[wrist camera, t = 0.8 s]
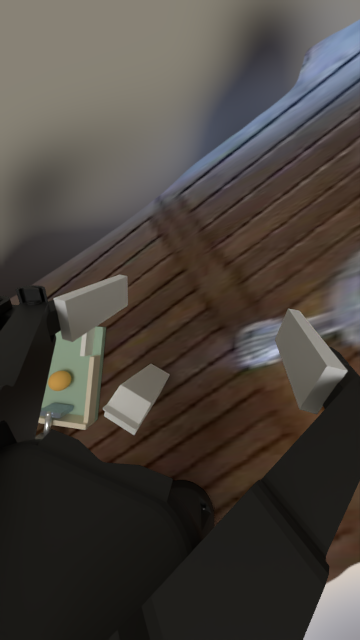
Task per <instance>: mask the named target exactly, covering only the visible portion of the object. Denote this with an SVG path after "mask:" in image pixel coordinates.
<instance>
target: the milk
mask: <svg viewBox="0 0 360 640" xmlns="http://www.w3.org/2000/svg"><path fill="white" fill-rule="evenodd" d="M169 376H170V374H168V373H166V372H165V371H163V370H161V369H160V368H158V367H156V366H154V365H153V364H149V365H148V366H147V367H145V368H144V369H142V370H141V371H140V372H138V373H137V374H135V375H134V376H132V377H131V378H130V379H128V380H127V381H125V382H124V383H122V384H121V385H120V386H119V388H118V389H117V391H116V392H115V394H114V395H113V396H112V398H111V399H110V401H109V402H108V404H107V405H106V406H104V407H103V410H104V411H105V414H104V416H105V417H106V418H108V419H109V420H111V421H113V422H114V423H116V424H117V425H119V426H120V427H122V428H123V429H125V430H127V431H128V432H130V433H131V434H133V435H135V433H136V432H137V430H138V428H139V427H140V425H141V424H142V422H143V420H144V419H145V417H146V415H147V414H148V412H149V411H150V409H151V407H152V406H153V404H154V402H155V401H156V399H157V398H158V396H159V394H160V393H161V391H162V389H163V387H164V385H165V383H166V381H167V380H168V378H169Z"/></svg>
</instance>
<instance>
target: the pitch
mask: <svg viewBox="0 0 360 640" xmlns="http://www.w3.org/2000/svg"><path fill="white" fill-rule="evenodd" d="M105 334H106V327H94V328H93V329H91V330H90V331H88V332H87V333H85V334H84V335H82V336H81V337H79V338H78V339H76V340H75V341H73V342H70V341H67V340H64V339H62V336H61V331H59V332H58V333H56V334H55V335H56V344H55V348H54V353H53V357H52V362H51V366H50V371H49V376H48V380H49V377H50V376H51V375H52V374H53V373H55V372H57V371H66V372H68V373H69V374H70V376H71V383H70V385H69V386H68V387H67V388H66V389H64V390H61V391H54V390H52V389H51V388H50V387H49V385H48V380H47V385H46V389H45V394H44V398H43V403H42V407H41V409H42V408H44V407H46V406H48V405H50V404H52V403H59V404H66V405H74V407H73V411H71V412H69V413H68V414H66V415H65V416H63V417H62V418H53V417H52V423H51V425H56V426H63V427H70V428H76V429H83V430H86V429H87V428H88V427H89V426H90V425H91V424H93V423H94V422H95V421H96V420H97V419H98V409H99V398H100V388H101V377H102V366H103V356H104V345H105ZM38 423H43V424H44V423H45V416H40V417H39V421H38Z"/></svg>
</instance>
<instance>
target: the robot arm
mask: <svg viewBox="0 0 360 640" xmlns="http://www.w3.org/2000/svg"><path fill="white" fill-rule="evenodd" d="M16 292H17V296H18V299H19V302H20V304H19V305H12V304H11V301H10V298H9V297H7V296H0V640H303V638H304V636H305V632H306V631H307V628H308V626H309V623H310V621H311V619H312V616H313V614H314V611H315V609H316V607H317V604H318V602H319V599H320V597H321V594H322V592H323V589H324V587H325V584H326V581H327V578H328V575H329V565H328V564H327V562H326V561H325V560H326V555H327V552H328V549H329V547H330V545H331V543H332V540H333V538H334V536H335V534H336V532H337V529H338V527H339V525H340V523H341V521H342V518H343V516H344V514H345V512H346V510H347V507H348V505H349V503H350V501H351V499H352V496H353V494H354V492H355V490H356V487H357V485H358V483H359V481H360V376H359V375H358V374H357V373H356V372H355V370H354V369H353V368H352V367H351V366H349V363H348V362H347V361H346V360H345V359H344V358H343V356H342V355H341V354H340V353H339V352H337V351H336V350H335V349H333V348H332V347H328V346H327V344H326V343H325V342H324V341H323V339H322V338H321V337H320V336H319V334H318V333H317V332H316V331H315V329H314V328H313V327H312V326H311V324H310V323H309V322H308V321H307V319H306V318H305V317H304V316H303V315H302V313H301V312H300V311H298V310H293V309H288V310H287V313H286V315H285V317H284V320H283V322H282V325H281V327H280V329H279V332H278V334H277V336H276V339H275V341H276V344H277V347H278V350H279V353H280V355H281V358H282V361H283V364H284V367H285V369H286V372H287V375H288V378H289V381H290V383H291V386H292V389H293V392H294V395H295V398H296V400H297V403H298V406H299V409H301V410H304V411H308V412H311V413H314V414H317V413H318V412H319V410H320V409H321V408H322V406H324V408H325V410H324V411H323V412H322V413H321V414H320V416H319V417H318V418H317V419H316V420H315V421H314V422H313V423H312V424H311V425H310V427H309V428H308V429H307V430H306V431H305V432H304V433H303V434H302V435H301V436H300V438H299V439H298V440H297V441H296V442H295V443H294V444H293V445H292V446H291V448H290V449H289V450H288V451H287V452H286V453H285V454H284V455H283V456H282V457H281V459H280V460H279V461H278V462H277V463H276V464H275V465H274V466H273V467H272V468H271V470H270V471H269V472H268V473H267V474H266V475H265V476H264V477H263V478H262V479H261V480H258V481H257V482H256V483H255V484H254V485H253V486H252V487H251V488H250V489H249V490H248V491H247V492H246V493H245V495H244V496H243V497H242V498H241V499H240V500H239V501H238V502H237V503H236V504H235V505H234V507H233V508H232V509H231V510H230V511H229V512H228V513H227V514H226V515H225V516H224V517H223V518H222V520H221V521H220V522H219V523H218V524H217V525H216V526H215V527H214V510H213V506H212V503H211V501H210V499H209V497H208V495H207V494H206V493H205V491H204V490H203V489H201V488H200V487H199V486H197V485H196V484H194V483H192V482H189V481H183V480H179V481H173V479H172V478H170V477H167V476H165V475H162V474H160V473H157V472H155V471H153V470H150V469H148V468H145V467H143V466H140V465H129V464H116V463H105V462H102V461H100V460H99V459H98V458H97V457H96V456H95V455H94V454H93V453H92V452H91V451H90V450H89V449H88V448H87V447H85V446H84V445H83V444H82V443H81V442H80V441H79V440H77V439H75V438H73V437H70V436H68V435H65V434H63V433H60V432H58V431H56V430H53V429H52V430H51V431H50V432H49V433H48V434H47V435H46V436H45V437H44V438H43V439H35V435H36V430H37V426H38V421H39V417H40V412H41V407H42V403H43V398H44V394H45V389H46V385H47V380H48V376H49V371H50V366H51V362H52V357H53V353H54V348H55V344H56V335H55V334H56V333H58V332H59V331H61V336H62V339H64V340H67V341H70V342H73V341H75V340H76V339H78V338H79V337H81V336H82V335H84V334H85V333H87V332H88V331H90V330H91V329H93V328H94V327H96V326H97V325H99V324H100V323H102V322H103V321H105V320H107V319H108V318H110V317H111V316H113V315H114V314H116V313H117V312H119V311H120V310H122V309H123V308H125V307H126V306H128V290H127V276H123V275H117V276H115V277H112V278H109V279H106V280H103V281H101V282H98V283H95V284H92V285H89V286H87V287H84V288H81V289H78V290H75V291H73V292H70V293H67V294H64V295H61V296H59V297H56V298H54V300H52V301H49V302H48V300H47V295H46V291H45V287H42V286H25V287H20V288H17V289H16ZM172 481H173V482H172Z"/></svg>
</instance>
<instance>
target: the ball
mask: <svg viewBox="0 0 360 640" xmlns="http://www.w3.org/2000/svg"><path fill="white" fill-rule="evenodd" d="M70 383H71V376H70V374H69V373H68V372H66V371H57V372H55V373H53V374H52V375H51V376H50V377H49V380H48V385H49V387H50V388H51V389H52V390H54V391H61V390H64V389H66V388H67V387H68V386H69V385H70Z"/></svg>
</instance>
